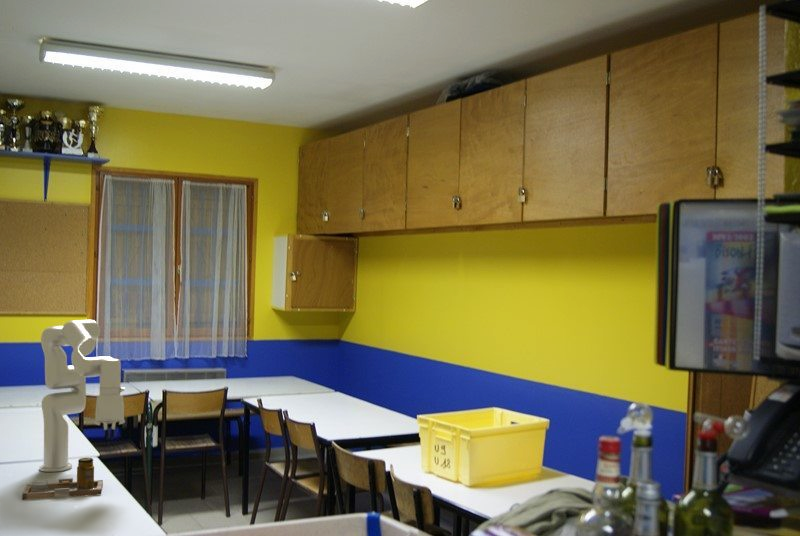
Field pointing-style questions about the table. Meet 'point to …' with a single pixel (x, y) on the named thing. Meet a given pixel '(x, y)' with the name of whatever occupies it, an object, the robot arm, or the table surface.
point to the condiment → (85, 474)
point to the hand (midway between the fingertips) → (109, 439)
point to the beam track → (58, 489)
